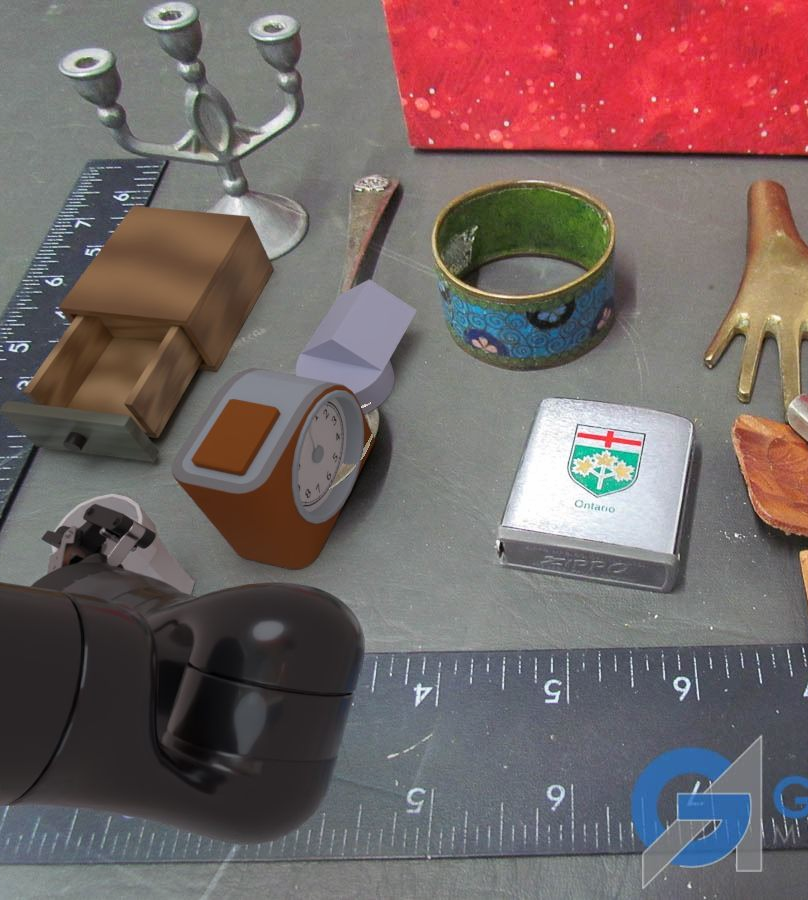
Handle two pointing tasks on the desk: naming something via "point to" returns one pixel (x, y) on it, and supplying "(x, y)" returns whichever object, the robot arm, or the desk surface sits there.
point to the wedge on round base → (358, 343)
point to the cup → (142, 561)
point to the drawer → (107, 387)
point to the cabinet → (177, 276)
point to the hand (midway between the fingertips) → (14, 596)
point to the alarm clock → (274, 463)
